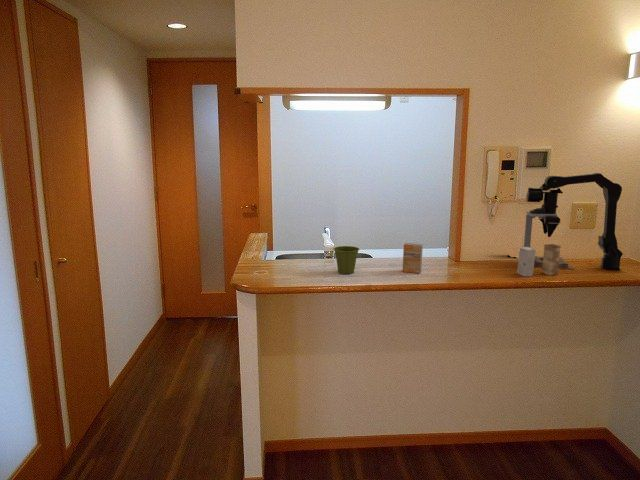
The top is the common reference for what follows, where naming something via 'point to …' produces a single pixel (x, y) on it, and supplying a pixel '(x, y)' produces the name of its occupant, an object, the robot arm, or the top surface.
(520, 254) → the skincare box
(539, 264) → the tan flat wooden frame
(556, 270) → the peg
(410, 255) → the supplement box
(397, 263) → the top surface
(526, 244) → the grey l-shaped rod
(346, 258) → the plant pot
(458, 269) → the top surface
